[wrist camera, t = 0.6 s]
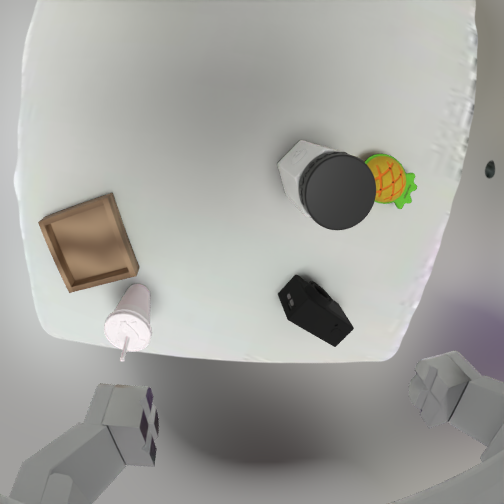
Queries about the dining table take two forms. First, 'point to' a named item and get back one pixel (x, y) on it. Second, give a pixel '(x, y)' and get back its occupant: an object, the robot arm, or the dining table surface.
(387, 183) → the toy pineapple
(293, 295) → the digital camera
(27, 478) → the robot arm
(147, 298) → the smoothie
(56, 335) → the dining table surface
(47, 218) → the tray
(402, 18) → the dining table surface
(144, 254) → the dining table surface
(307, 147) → the jar
